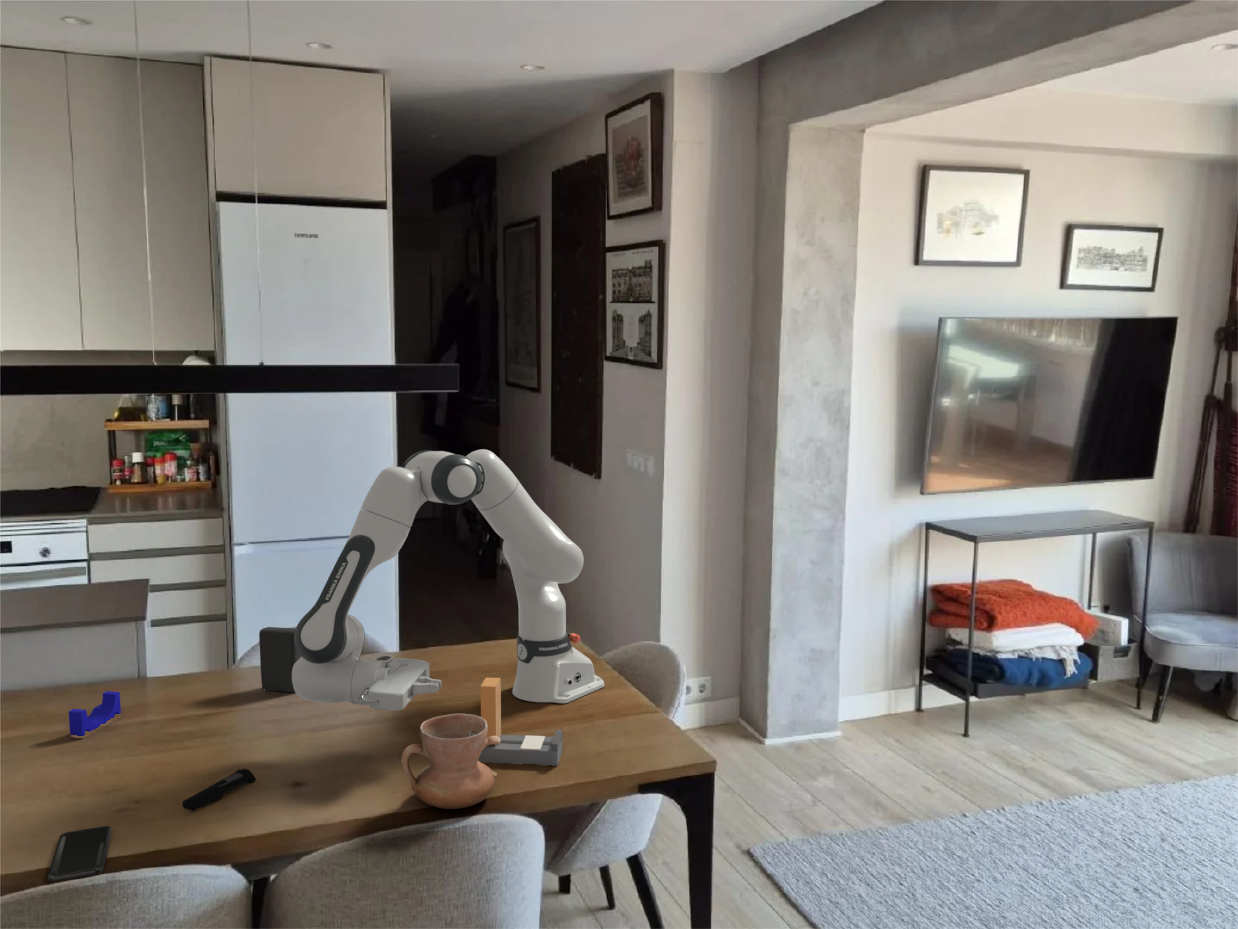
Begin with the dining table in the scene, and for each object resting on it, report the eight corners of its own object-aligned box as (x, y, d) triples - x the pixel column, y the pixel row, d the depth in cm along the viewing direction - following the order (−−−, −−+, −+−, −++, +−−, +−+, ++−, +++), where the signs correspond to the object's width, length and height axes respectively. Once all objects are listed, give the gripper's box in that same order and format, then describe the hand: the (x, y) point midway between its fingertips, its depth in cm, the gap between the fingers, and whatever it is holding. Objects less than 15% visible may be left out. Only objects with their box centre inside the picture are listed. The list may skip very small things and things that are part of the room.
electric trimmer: (176, 814, 180) (175, 798, 179) (242, 778, 193) (242, 763, 193) (192, 819, 178) (191, 802, 177) (257, 782, 192) (256, 767, 191)
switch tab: (481, 743, 201) (480, 686, 199) (486, 733, 206) (486, 677, 204) (496, 744, 201) (495, 686, 199) (501, 734, 206) (500, 678, 204)
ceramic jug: (496, 777, 194) (495, 706, 192) (505, 812, 181) (505, 736, 179) (401, 786, 190) (399, 714, 188) (403, 823, 176) (401, 745, 174)
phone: (46, 878, 157) (60, 833, 170) (47, 885, 157) (61, 839, 171) (103, 869, 159) (112, 824, 173) (103, 875, 160) (113, 830, 173)
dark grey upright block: (304, 688, 241) (302, 627, 238) (297, 694, 237) (294, 632, 235) (268, 685, 242) (266, 625, 240) (260, 691, 238) (258, 630, 236)
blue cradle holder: (103, 716, 223) (101, 690, 222) (121, 718, 222) (119, 692, 221) (64, 738, 211) (62, 710, 210) (83, 740, 210) (81, 712, 209)
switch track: (458, 761, 201) (457, 740, 200) (466, 747, 208) (466, 726, 207) (557, 766, 199) (557, 744, 199) (562, 751, 206) (562, 730, 206)
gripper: (354, 685, 193) (425, 689, 192) (387, 652, 213) (452, 655, 212) (355, 717, 194) (425, 721, 193) (388, 681, 214) (452, 684, 213)
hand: (439, 686), depth 203 cm, fingers closed
